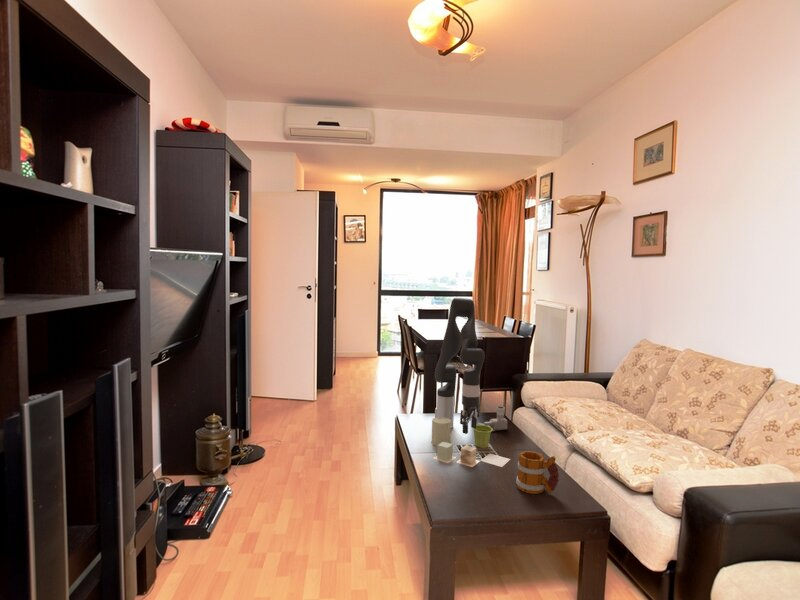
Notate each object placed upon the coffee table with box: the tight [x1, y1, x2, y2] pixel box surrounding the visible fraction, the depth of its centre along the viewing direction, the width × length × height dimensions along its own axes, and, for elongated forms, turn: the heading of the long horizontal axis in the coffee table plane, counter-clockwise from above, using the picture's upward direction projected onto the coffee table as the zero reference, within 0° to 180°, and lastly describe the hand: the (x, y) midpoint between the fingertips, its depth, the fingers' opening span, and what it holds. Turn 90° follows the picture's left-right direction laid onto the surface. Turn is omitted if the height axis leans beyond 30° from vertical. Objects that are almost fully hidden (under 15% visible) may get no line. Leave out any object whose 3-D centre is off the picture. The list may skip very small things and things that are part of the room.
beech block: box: [459, 444, 477, 465], centre depth 195 cm, size 5×5×6 cm
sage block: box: [436, 442, 454, 461], centre depth 198 cm, size 5×5×6 cm
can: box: [430, 417, 451, 447], centre depth 215 cm, size 9×9×12 cm
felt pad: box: [480, 453, 511, 468], centre depth 198 cm, size 10×10×1 cm
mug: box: [515, 450, 560, 495], centre depth 172 cm, size 11×16×15 cm, turn 51°
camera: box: [477, 405, 508, 432], centre depth 237 cm, size 9×12×15 cm
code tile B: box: [432, 455, 457, 464], centre depth 198 cm, size 8×8×1 cm
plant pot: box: [472, 424, 493, 449], centre depth 214 cm, size 9×9×9 cm
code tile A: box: [455, 458, 481, 468], centre depth 195 cm, size 8×8×1 cm
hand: (469, 430), depth 194 cm, fingers open, 8 cm apart
